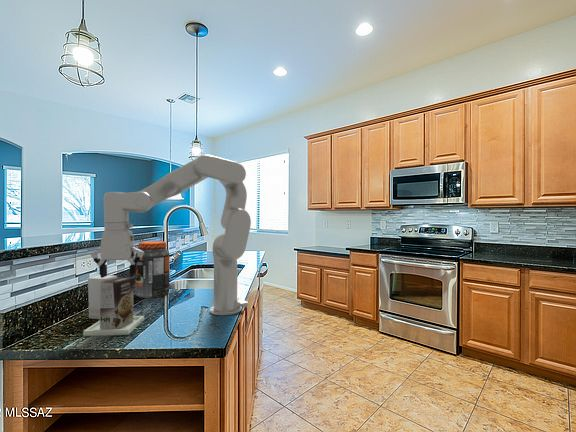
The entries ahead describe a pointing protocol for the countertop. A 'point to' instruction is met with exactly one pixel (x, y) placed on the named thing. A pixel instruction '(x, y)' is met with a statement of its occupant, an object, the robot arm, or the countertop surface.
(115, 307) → the coffee box
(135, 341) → the countertop surface
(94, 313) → the skincare box
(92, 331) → the tray
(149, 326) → the countertop surface
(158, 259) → the supplement tub
